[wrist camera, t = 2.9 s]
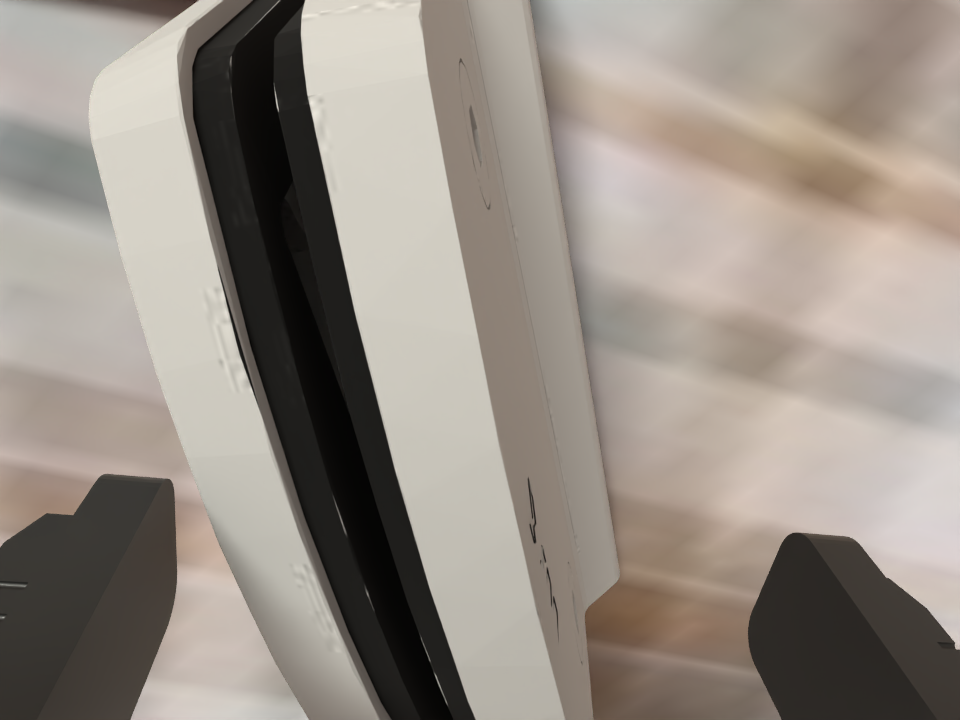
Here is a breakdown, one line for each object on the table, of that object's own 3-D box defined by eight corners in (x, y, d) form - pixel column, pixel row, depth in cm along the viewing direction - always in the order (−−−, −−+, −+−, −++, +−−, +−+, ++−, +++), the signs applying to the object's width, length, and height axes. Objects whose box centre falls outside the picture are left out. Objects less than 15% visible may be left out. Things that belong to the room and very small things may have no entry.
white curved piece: (614, 541, 22) (680, 947, 13) (459, 560, 22) (424, 957, 14) (511, -115, 13) (504, -188, 5) (269, -55, 14) (-122, -22, 5)
